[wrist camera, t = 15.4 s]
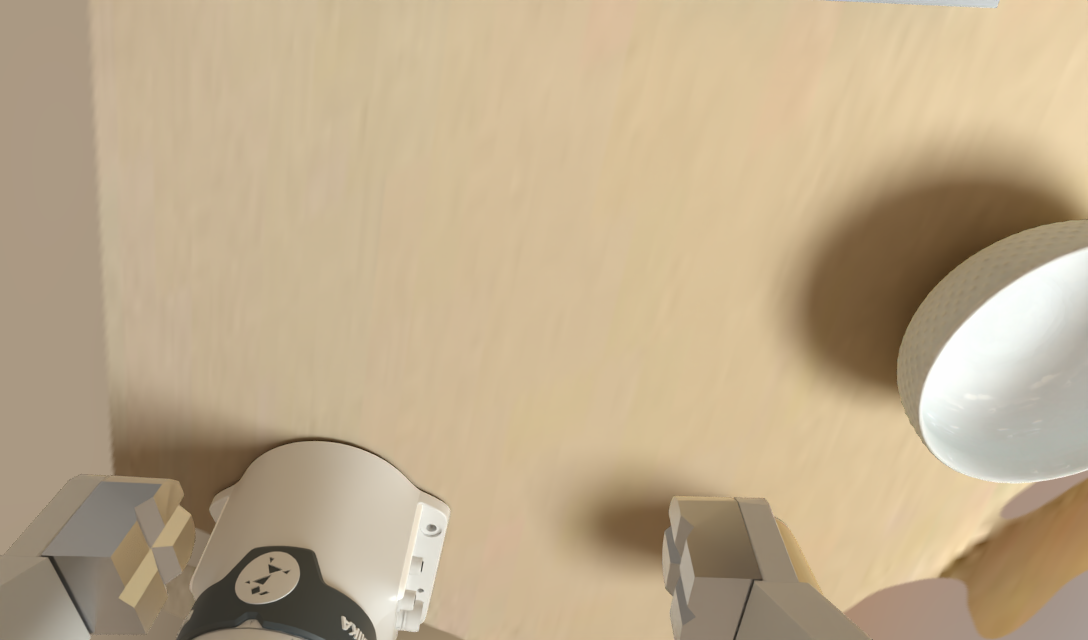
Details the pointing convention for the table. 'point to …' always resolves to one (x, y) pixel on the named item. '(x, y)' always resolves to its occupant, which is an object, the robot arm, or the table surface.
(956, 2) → the tray
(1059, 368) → the cereal bowl
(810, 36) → the table surface
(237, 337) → the table surface
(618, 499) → the table surface
